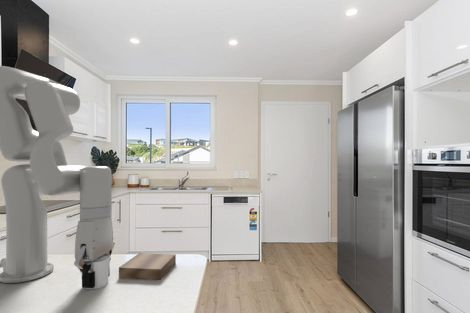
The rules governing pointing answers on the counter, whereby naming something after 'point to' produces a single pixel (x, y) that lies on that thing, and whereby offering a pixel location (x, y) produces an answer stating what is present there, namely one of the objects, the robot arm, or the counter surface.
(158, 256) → the walnut base
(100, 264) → the white and grey cylinder
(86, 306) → the counter surface
